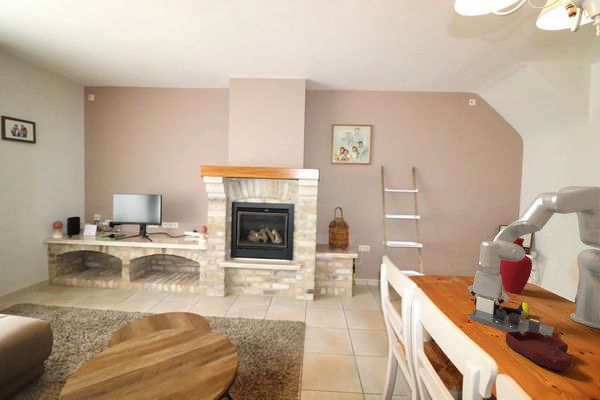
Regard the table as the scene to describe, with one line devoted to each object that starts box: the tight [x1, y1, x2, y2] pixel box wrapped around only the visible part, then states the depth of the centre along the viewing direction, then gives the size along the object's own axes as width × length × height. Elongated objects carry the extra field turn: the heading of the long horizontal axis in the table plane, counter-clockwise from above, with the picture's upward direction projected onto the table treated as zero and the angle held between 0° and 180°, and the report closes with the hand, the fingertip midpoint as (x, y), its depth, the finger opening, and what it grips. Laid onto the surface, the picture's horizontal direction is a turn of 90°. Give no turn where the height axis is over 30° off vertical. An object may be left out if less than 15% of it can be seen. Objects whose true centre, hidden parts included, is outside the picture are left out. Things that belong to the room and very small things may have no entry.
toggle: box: [528, 317, 541, 332], centre depth 105 cm, size 3×3×4 cm
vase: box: [499, 237, 533, 295], centre depth 150 cm, size 15×15×30 cm
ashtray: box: [505, 331, 572, 373], centre depth 92 cm, size 18×16×5 cm
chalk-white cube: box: [475, 295, 495, 314], centre depth 121 cm, size 6×6×6 cm
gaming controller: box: [499, 301, 531, 319], centre depth 123 cm, size 15×6×10 cm
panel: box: [469, 308, 555, 337], centre depth 112 cm, size 25×15×6 cm, turn 42°
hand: (486, 309), depth 121 cm, fingers closed on chalk-white cube, 6 cm apart
